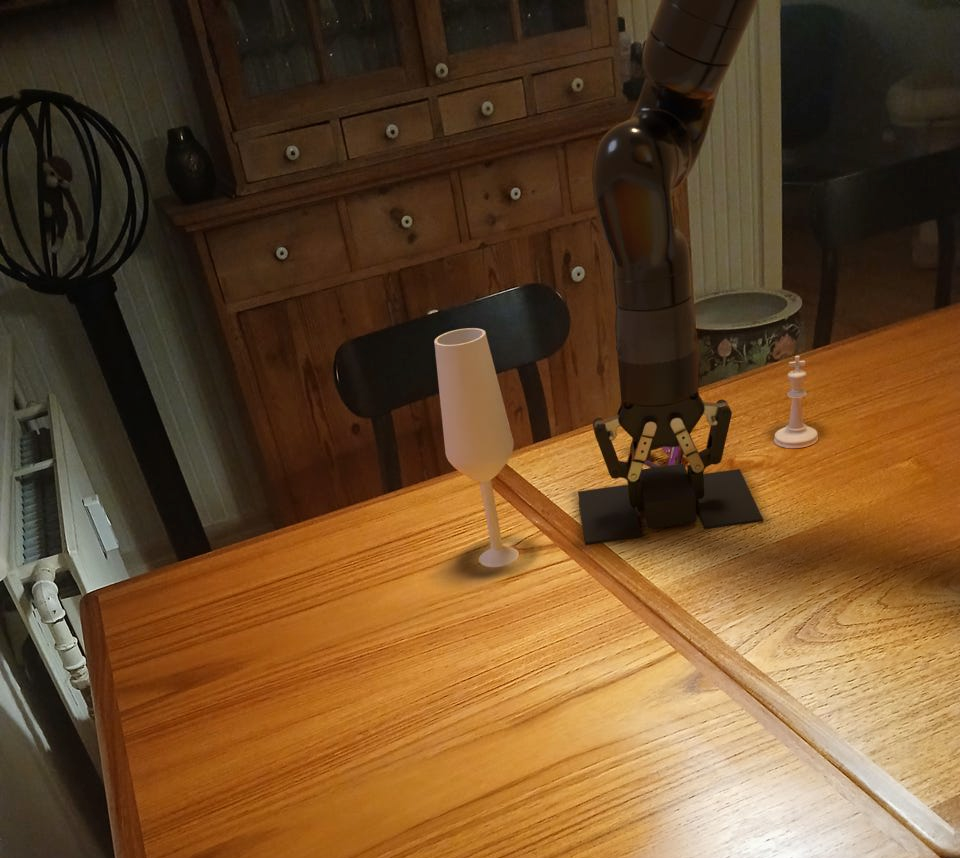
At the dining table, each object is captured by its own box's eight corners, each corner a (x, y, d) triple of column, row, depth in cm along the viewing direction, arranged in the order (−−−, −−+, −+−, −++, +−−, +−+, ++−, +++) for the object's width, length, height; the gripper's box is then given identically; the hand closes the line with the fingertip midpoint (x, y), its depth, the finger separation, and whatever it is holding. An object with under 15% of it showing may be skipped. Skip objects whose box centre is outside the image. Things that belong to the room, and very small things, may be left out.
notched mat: (740, 478, 110) (739, 468, 109) (763, 529, 100) (763, 518, 99) (579, 500, 112) (577, 491, 111) (586, 552, 102) (584, 542, 101)
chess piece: (820, 446, 113) (822, 361, 107) (775, 450, 114) (775, 366, 108) (815, 429, 117) (818, 346, 111) (772, 432, 118) (772, 351, 112)
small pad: (685, 488, 107) (683, 463, 105) (696, 522, 100) (695, 496, 98) (639, 494, 107) (636, 469, 106) (647, 529, 101) (645, 503, 99)
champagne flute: (472, 550, 106) (429, 330, 93) (534, 545, 105) (499, 320, 92) (464, 583, 101) (418, 353, 87) (529, 577, 99) (492, 344, 86)
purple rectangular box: (636, 400, 116) (683, 420, 109) (671, 401, 118) (719, 421, 111) (624, 455, 118) (669, 478, 112) (659, 456, 121) (705, 478, 114)
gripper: (725, 323, 96) (729, 480, 106) (579, 345, 98) (595, 498, 107) (740, 347, 90) (742, 512, 100) (584, 371, 92) (601, 531, 101)
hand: (666, 504), depth 103 cm, fingers closed on small pad, 5 cm apart
